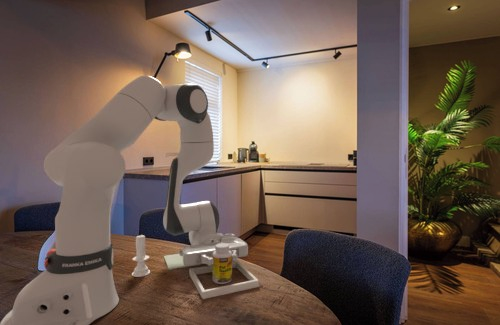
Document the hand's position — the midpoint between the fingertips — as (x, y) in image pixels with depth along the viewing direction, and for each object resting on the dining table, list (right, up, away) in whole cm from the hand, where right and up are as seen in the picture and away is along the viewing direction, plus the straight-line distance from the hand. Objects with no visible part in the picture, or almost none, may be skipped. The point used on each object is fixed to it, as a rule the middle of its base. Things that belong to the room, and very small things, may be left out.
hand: (223, 260), depth 79 cm
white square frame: (0, -6, +1) cm, 6 cm away
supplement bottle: (0, -6, +1) cm, 6 cm away
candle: (-26, -6, +6) cm, 27 cm away
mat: (-15, -6, +16) cm, 23 cm away
